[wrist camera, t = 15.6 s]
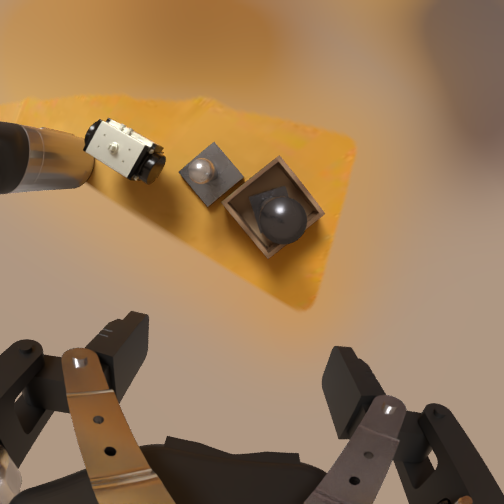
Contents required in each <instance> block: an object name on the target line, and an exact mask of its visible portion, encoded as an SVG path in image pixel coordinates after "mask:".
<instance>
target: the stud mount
mask: <svg viewBox="0 0 504 504" xmlns="http://www.w3.org/2000/svg"><path fill="white" fill-rule="evenodd" d="M179 173H180V174H181V176H182V177H183V178H184V179H185V180H186V182H187V183H188V184H189V185H190V186H191V188H192V189H193V190H194V191H195V192H196V194H197V195H198V196H199V197H200V198H201V200H202V201H203V202H204V203H205V204H206V206H207V207H209V206H210V205H211V204H212V203H213V202H215V201H216V200H217V199H218V198H219V197H221V196H222V195H223V194H224V193H225V192H227V191H228V190H229V189H230V188H231V187H233V186H234V185H235V184H236V183H237V182H239V181H240V180H241V179H242V178H244V177H243V175H242V174H241V173H240V172H239V171H238V169H237V168H236V167H235V166H234V165H233V163H232V162H231V161H230V160H229V159H228V158H227V156H226V155H225V154H224V153H223V152H222V150H221V149H220V148H219V147H218V146H217V145H216V144H215V142H213V143H212V144H211V145H210V146H208V147H207V148H206V149H205V150H204V151H202V152H201V153H200V154H199V155H198V156H196V157H195V158H194V159H193V160H192V161H191V162H189V163H188V164H187V165H186V166H185V167H184V168H183V169H181V170H180V171H179Z"/></svg>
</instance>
